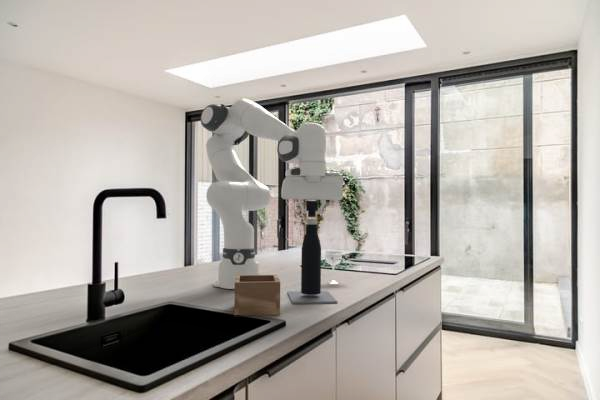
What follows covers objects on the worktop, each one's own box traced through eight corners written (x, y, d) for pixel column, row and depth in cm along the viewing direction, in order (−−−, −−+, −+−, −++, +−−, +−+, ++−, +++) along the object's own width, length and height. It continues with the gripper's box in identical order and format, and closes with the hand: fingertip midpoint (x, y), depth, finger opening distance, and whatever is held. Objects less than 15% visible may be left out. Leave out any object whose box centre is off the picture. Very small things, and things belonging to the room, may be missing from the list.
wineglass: (321, 282, 162) (321, 252, 163) (330, 280, 168) (330, 250, 168) (336, 284, 158) (336, 253, 159) (344, 282, 164) (345, 251, 164)
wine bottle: (319, 295, 131) (320, 200, 131) (299, 294, 132) (300, 200, 133) (322, 291, 137) (323, 201, 138) (303, 290, 138) (304, 201, 139)
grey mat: (287, 293, 142) (287, 291, 142) (327, 292, 143) (327, 290, 144) (292, 304, 126) (292, 302, 126) (337, 303, 128) (337, 301, 128)
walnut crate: (235, 305, 124) (236, 275, 124) (276, 304, 125) (277, 274, 126) (234, 315, 112) (234, 282, 112) (279, 314, 113) (280, 282, 113)
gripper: (341, 173, 140) (340, 213, 140) (281, 171, 137) (280, 213, 137) (345, 171, 134) (344, 214, 133) (282, 170, 131) (281, 213, 131)
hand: (311, 213), depth 135 cm, fingers closed on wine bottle, 4 cm apart
